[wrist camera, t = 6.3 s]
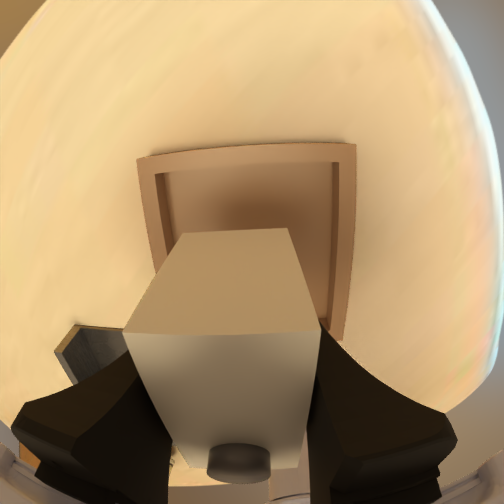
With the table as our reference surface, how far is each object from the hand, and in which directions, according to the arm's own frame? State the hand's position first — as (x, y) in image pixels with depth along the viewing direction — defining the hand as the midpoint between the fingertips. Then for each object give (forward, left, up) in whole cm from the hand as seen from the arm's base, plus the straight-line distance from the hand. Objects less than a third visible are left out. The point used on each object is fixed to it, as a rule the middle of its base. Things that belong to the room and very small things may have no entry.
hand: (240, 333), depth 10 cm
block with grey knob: (0, 0, -2) cm, 2 cm away
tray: (0, 0, -8) cm, 8 cm away
